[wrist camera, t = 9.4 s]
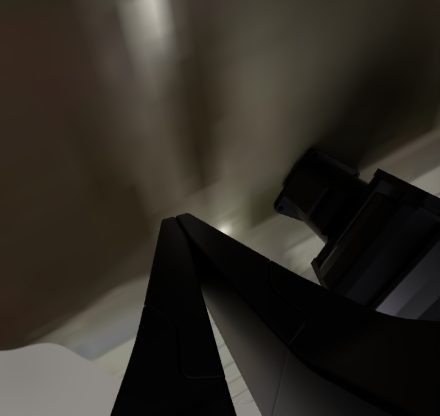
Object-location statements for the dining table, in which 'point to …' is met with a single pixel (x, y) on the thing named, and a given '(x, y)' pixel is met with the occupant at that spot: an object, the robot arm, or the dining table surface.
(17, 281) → the dining table surface
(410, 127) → the dining table surface
